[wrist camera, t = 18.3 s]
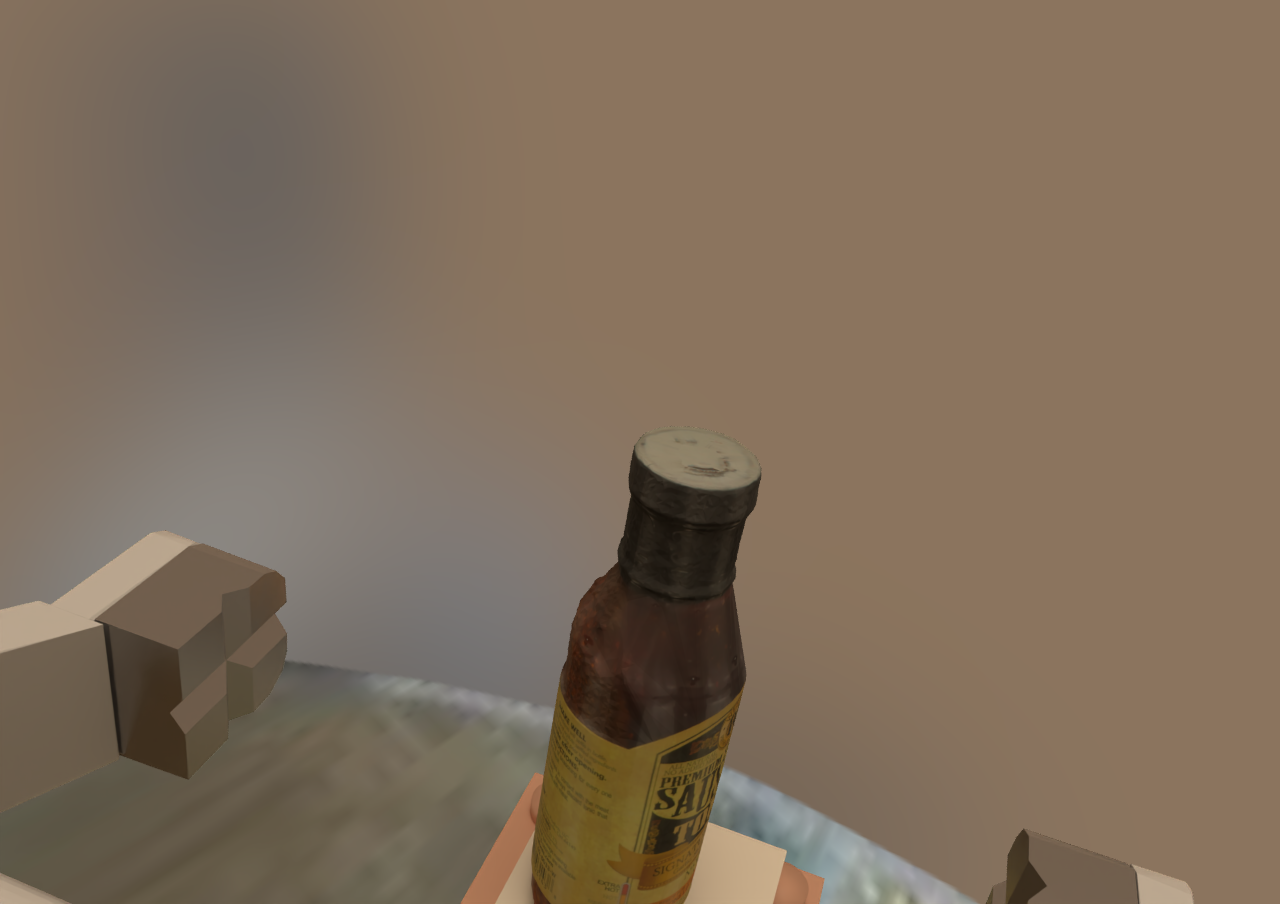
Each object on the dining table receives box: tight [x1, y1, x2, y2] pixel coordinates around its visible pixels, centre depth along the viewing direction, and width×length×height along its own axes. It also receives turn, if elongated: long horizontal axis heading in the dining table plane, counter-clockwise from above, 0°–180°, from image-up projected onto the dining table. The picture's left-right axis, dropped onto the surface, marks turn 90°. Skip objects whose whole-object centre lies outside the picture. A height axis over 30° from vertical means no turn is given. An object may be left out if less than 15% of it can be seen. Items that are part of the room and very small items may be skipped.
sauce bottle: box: [531, 427, 761, 904], centre depth 38 cm, size 7×6×20 cm
